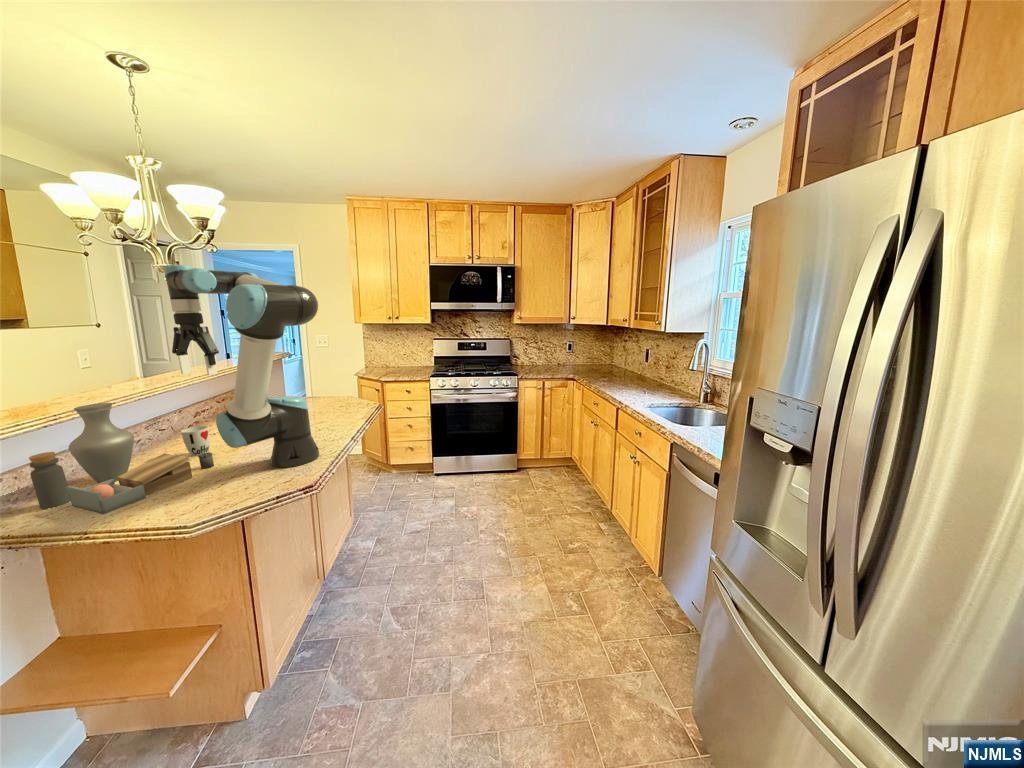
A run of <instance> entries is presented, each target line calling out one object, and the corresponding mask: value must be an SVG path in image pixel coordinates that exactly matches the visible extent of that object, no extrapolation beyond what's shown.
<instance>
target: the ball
mask: <svg viewBox="0 0 1024 768" xmlns="http://www.w3.org/2000/svg"><path fill="white" fill-rule="evenodd" d="M91 491H95V492H99V493H101V495H102V499H104V498H107V497H110V496H112V495H113V494H114V489H113V488H112V487H111V486H109V485H106V484H102V485H97V486H95V487H93V488H92V489H91Z"/></svg>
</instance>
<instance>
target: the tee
mask: <svg viewBox="0 0 1024 768" xmlns="http://www.w3.org/2000/svg"><path fill="white" fill-rule="evenodd" d="M197 458H198V460H199V465H200V469H201V470H208V469H211V468H213V467H215V463H214V458H213V452H209V451H208V453H203V454H200V455H199V456H197Z"/></svg>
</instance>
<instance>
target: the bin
mask: <svg viewBox="0 0 1024 768" xmlns="http://www.w3.org/2000/svg"><path fill="white" fill-rule="evenodd" d="M115 482H116V481H115ZM115 482H114V479H111V480H108V481H105V482H101V483H95V484H93V485H90V486H86V487H83V488H81V487H76V486H72V485H68V486H67V490H68V494H69V497H70V504H71V507H72V506H73V507H74V508H75V509H81V510H85V511H89V512H92V513H97V514H100V515H106V514H108V513H111V512H114V511H116V510H118V509H121V508H124V507H126V506H129V505H131V504H134V503H137V502H139V501H141V500H145V499H146V498H147V496H146V494H145V490H144V486H143V485H140V486H137V487H135V488H131V487H127V486H122V485H119V484H116V483H115ZM102 484H106V485H109V486H111V487H112V488H113V489H114V494H113V495H112V496H110V497H107V498H104V499H102V495H101V493H99V492H95V491H91V489H92V488H93V487H95V486H97V485H102Z"/></svg>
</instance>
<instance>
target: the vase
mask: <svg viewBox="0 0 1024 768" xmlns="http://www.w3.org/2000/svg"><path fill="white" fill-rule="evenodd" d="M112 406H113V403H112V402H98V403H91V404H86V405H81V406H80V405H79V406H76V407H73V410H74V411H75V412H76V413H77V414H78V416H80V418H81V419H82V421H83V423H84V428H83V431H82V432H81V434H80V435H78V436H77V437H75V438H74V439H73V440H72V441H71V442H70V443H69V445H68V451H69V452H70V454H71V456H72V457H73V459H75V461H76V462H77V463H78V464H79V465H80V467H81V468H82V469H83V471H85V473H86V474H87V475H88V476H90V477H91V478H92V480H94V481H95V482H96V484H98V483H101V482H105V481H108V480H111V479H114V482H119V481H118V478H117V477H118V476H120V475H122V474H124V473H126V472H128V471H129V467H130V464H131V460H132V456H133V455H132V454H133V450H134V443H135V437H134V434H133V433H132V432H131V431H128V430H126V429H122V428H120V427H117V426H116V425H115V424H113V423H112V421H111V419H110V414H111V409H112Z"/></svg>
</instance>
